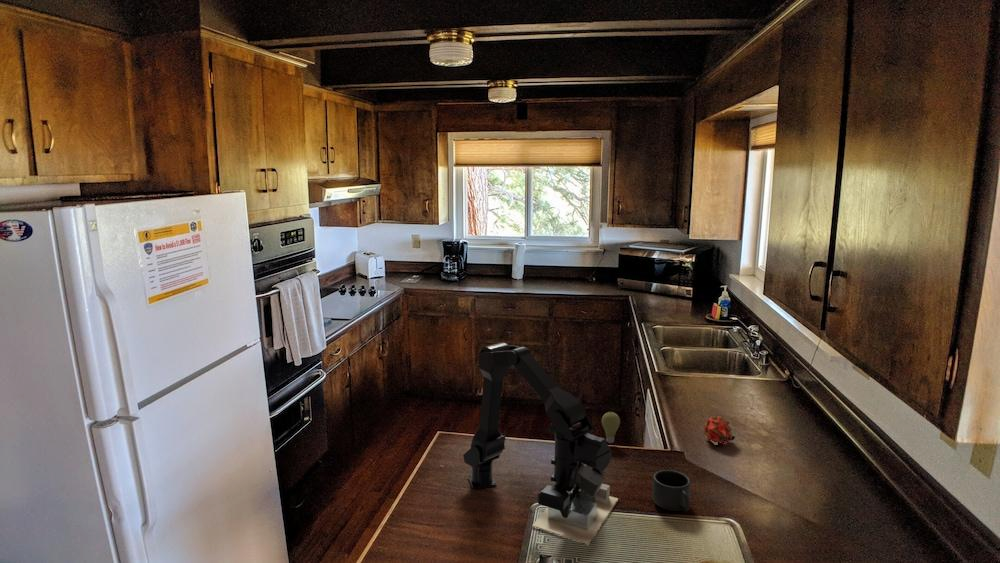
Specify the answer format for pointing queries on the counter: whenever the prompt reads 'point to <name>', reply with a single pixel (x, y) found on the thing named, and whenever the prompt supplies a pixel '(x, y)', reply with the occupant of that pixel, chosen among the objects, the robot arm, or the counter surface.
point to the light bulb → (610, 425)
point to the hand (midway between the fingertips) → (565, 517)
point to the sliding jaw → (576, 513)
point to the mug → (671, 490)
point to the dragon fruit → (718, 430)
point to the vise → (577, 533)
